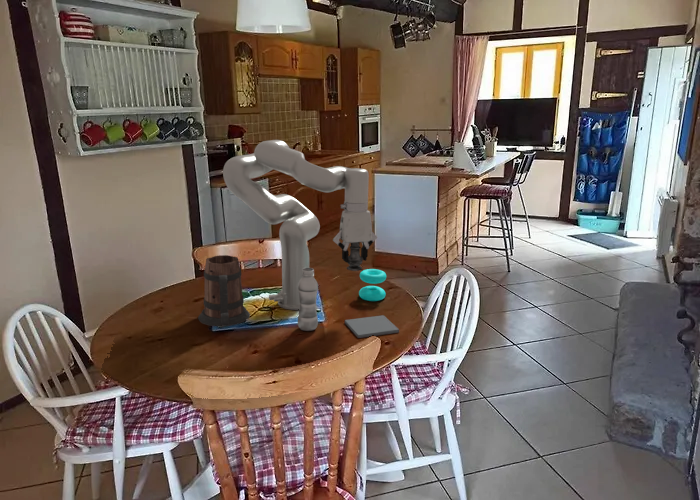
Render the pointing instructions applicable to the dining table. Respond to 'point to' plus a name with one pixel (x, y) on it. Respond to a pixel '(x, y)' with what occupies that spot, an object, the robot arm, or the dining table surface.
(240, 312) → the tankard
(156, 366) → the dining table surface
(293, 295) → the robot arm
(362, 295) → the donuts
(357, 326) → the mat
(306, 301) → the plastic bottle
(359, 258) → the stone chess piece
